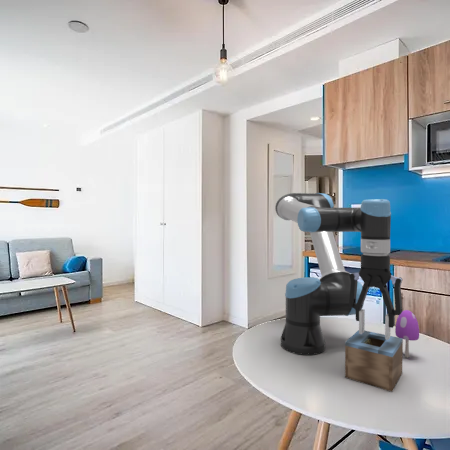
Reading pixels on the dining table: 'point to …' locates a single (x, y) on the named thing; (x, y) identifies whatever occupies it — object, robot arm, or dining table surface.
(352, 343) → the coin box
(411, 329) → the toy
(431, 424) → the dining table surface
